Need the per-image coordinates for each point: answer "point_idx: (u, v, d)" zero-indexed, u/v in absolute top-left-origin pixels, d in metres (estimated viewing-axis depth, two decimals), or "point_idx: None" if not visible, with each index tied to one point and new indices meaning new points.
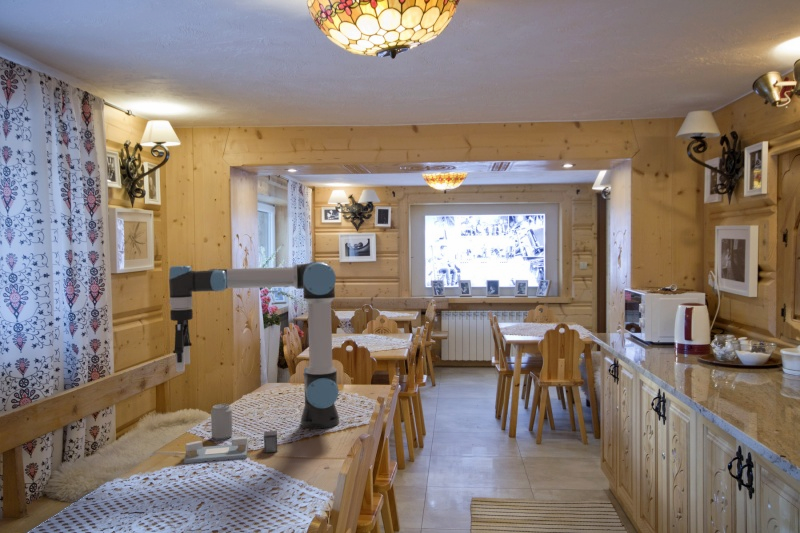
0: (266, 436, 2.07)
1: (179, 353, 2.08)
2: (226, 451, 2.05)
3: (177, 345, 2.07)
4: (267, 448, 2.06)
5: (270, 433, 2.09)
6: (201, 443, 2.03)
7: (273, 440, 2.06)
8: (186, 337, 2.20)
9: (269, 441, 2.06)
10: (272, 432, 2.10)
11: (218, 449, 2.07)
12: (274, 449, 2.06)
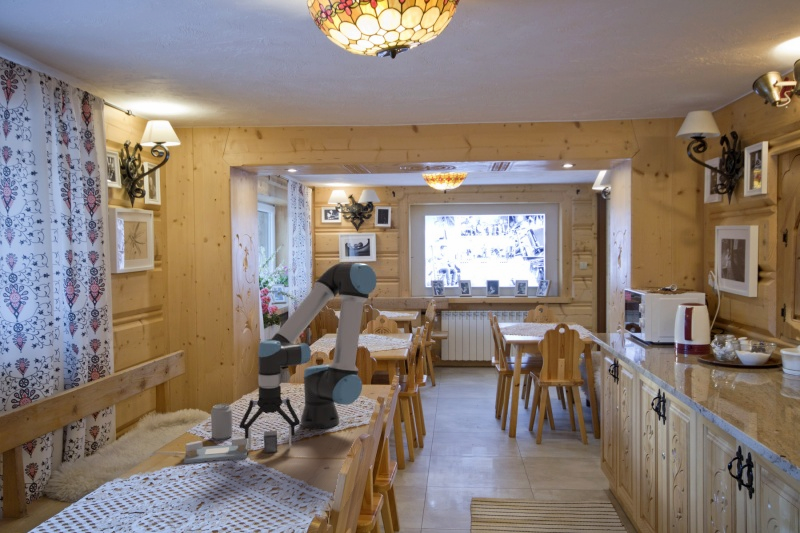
0: (266, 436, 2.07)
1: None
2: (226, 451, 2.05)
3: None
4: (267, 448, 2.06)
5: (270, 433, 2.09)
6: (201, 443, 2.03)
7: (273, 440, 2.06)
8: None
9: (269, 441, 2.06)
10: (272, 432, 2.10)
11: (218, 449, 2.07)
12: (274, 449, 2.06)
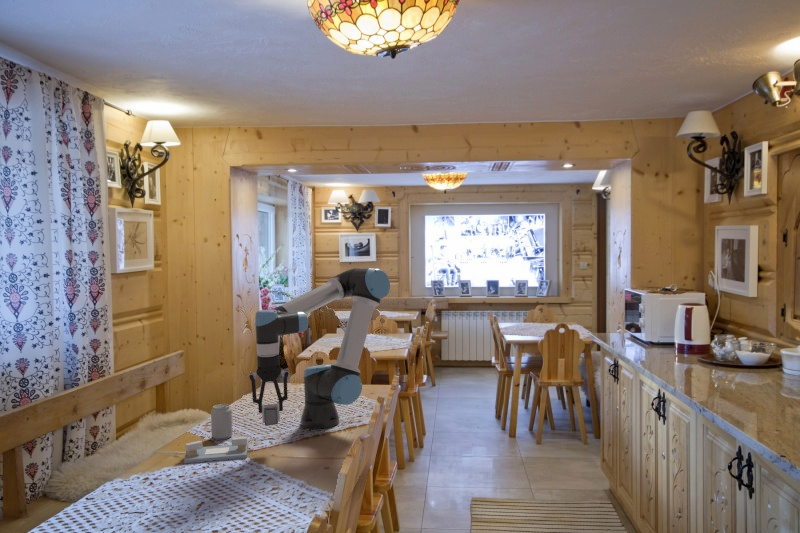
0: (266, 408, 2.06)
1: (258, 403, 2.08)
2: (226, 451, 2.05)
3: None
4: (267, 420, 2.06)
5: (270, 406, 2.09)
6: (201, 443, 2.03)
7: (273, 412, 2.06)
8: (275, 388, 2.08)
9: (269, 414, 2.06)
10: (272, 405, 2.10)
11: (218, 449, 2.07)
12: (274, 421, 2.06)
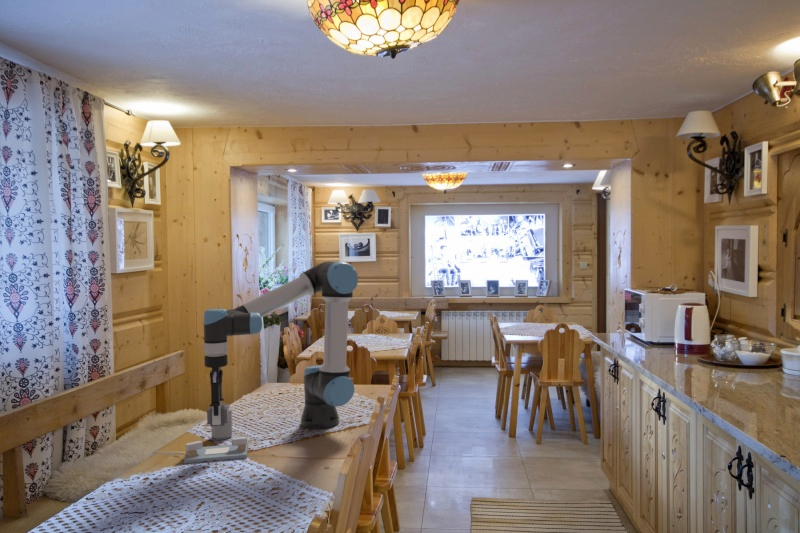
0: (224, 408, 2.04)
1: (216, 406, 2.01)
2: (226, 451, 2.05)
3: (214, 399, 1.99)
4: (227, 419, 2.05)
5: None
6: (201, 443, 2.03)
7: None
8: (219, 387, 2.07)
9: (227, 411, 2.05)
10: None
11: (218, 449, 2.07)
12: None
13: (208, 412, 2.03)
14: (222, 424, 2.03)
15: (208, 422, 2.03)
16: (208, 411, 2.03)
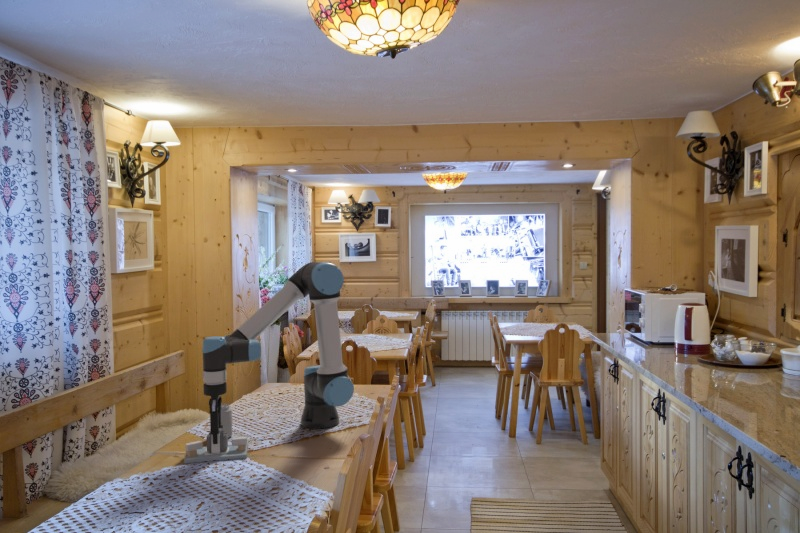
0: (223, 434, 2.05)
1: (215, 434, 2.01)
2: (226, 451, 2.05)
3: (213, 428, 1.99)
4: (227, 445, 2.05)
5: None
6: (201, 443, 2.03)
7: (227, 436, 2.07)
8: (218, 415, 2.07)
9: (227, 438, 2.06)
10: None
11: None
12: (227, 445, 2.07)
13: (208, 439, 2.03)
14: (221, 451, 2.04)
15: (207, 449, 2.03)
16: (208, 438, 2.03)
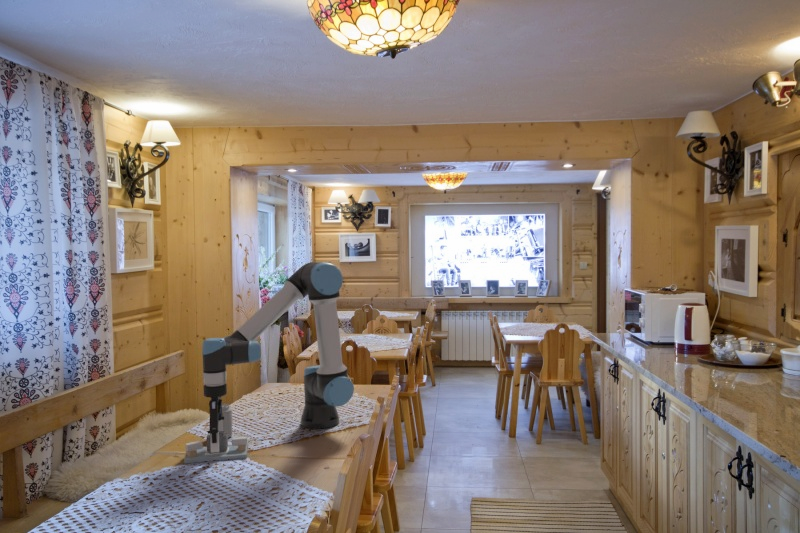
0: (223, 434, 2.05)
1: (214, 433, 1.97)
2: (226, 451, 2.05)
3: (212, 425, 1.96)
4: (227, 445, 2.05)
5: None
6: (201, 443, 2.03)
7: (227, 436, 2.07)
8: (219, 412, 2.10)
9: (227, 438, 2.06)
10: None
11: None
12: (227, 445, 2.07)
13: (208, 439, 2.03)
14: (221, 451, 2.04)
15: (207, 449, 2.03)
16: (208, 438, 2.03)
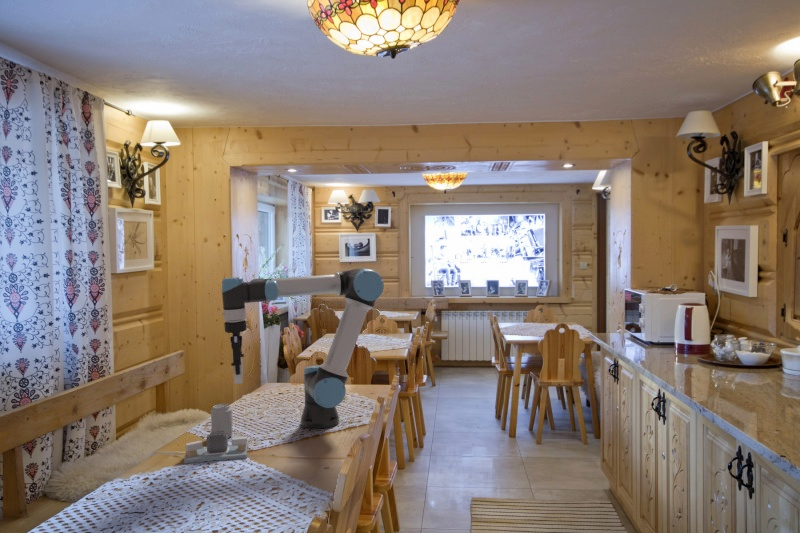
0: (223, 434, 2.05)
1: (237, 365, 2.07)
2: (226, 451, 2.05)
3: (235, 357, 2.06)
4: (227, 445, 2.05)
5: (216, 433, 2.05)
6: (201, 443, 2.03)
7: (227, 436, 2.07)
8: (239, 348, 2.20)
9: (227, 438, 2.06)
10: (215, 432, 2.06)
11: None
12: (227, 445, 2.07)
13: (208, 439, 2.03)
14: (221, 451, 2.04)
15: (207, 449, 2.03)
16: (208, 438, 2.03)
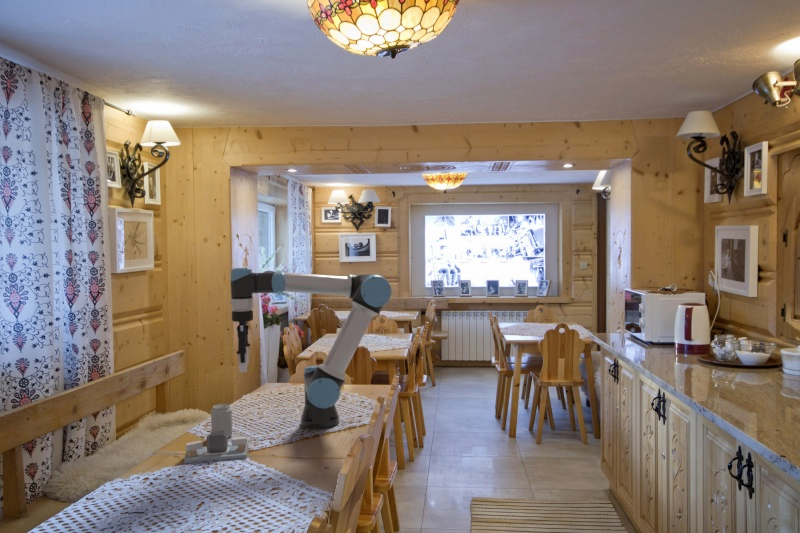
0: (223, 434, 2.05)
1: (242, 354, 2.11)
2: (226, 451, 2.05)
3: (241, 346, 2.10)
4: (227, 445, 2.05)
5: (216, 433, 2.05)
6: (201, 443, 2.03)
7: (227, 436, 2.07)
8: (246, 338, 2.24)
9: (227, 438, 2.06)
10: (215, 432, 2.06)
11: None
12: (227, 445, 2.07)
13: (208, 439, 2.03)
14: (221, 451, 2.04)
15: (207, 449, 2.03)
16: (208, 438, 2.03)
